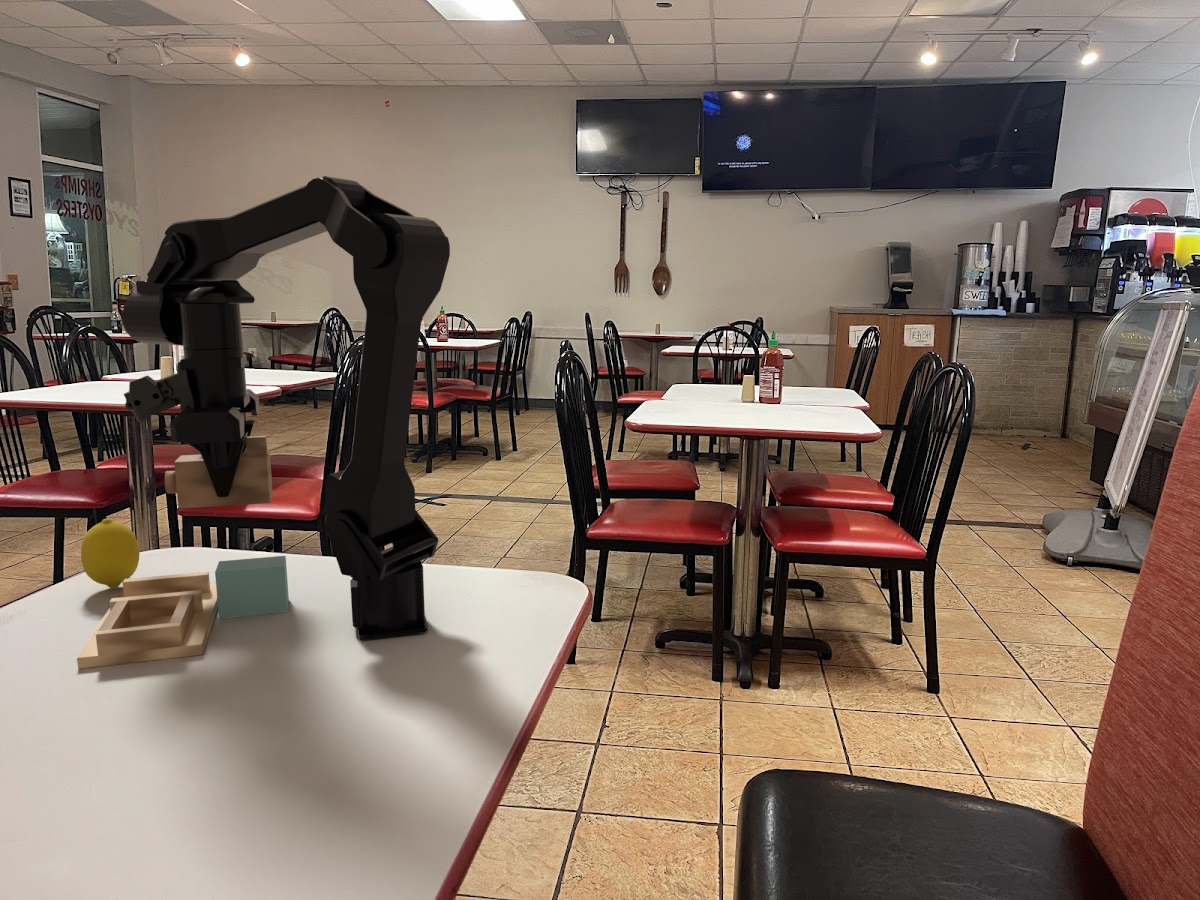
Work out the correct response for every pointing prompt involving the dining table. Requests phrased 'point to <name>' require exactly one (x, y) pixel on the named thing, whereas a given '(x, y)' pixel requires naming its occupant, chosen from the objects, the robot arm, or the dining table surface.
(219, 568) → the teal block
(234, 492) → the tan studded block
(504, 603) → the dining table surface
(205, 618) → the jig
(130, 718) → the dining table surface
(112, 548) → the lemon
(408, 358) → the robot arm
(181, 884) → the dining table surface
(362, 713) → the dining table surface
